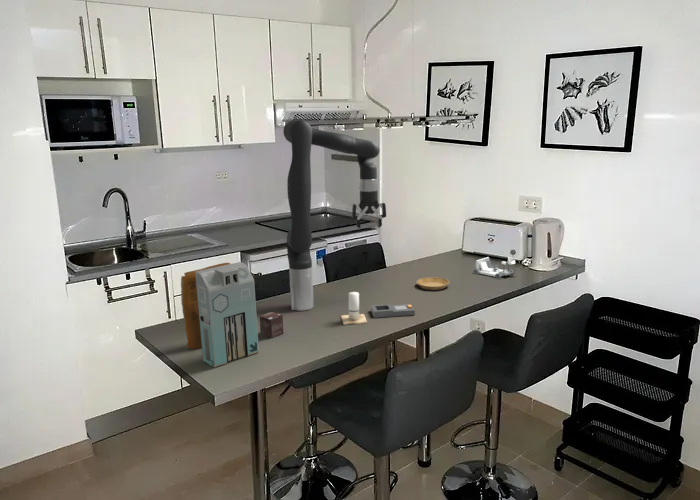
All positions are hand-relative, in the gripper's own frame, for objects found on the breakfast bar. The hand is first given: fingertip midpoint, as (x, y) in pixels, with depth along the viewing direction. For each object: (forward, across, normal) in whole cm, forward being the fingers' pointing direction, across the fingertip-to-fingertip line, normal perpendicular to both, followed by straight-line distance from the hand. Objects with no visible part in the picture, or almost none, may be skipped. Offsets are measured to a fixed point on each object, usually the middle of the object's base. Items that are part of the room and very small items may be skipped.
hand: (369, 227), depth 237 cm
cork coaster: (+30, -11, -29) cm, 43 cm away
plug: (+30, -11, -29) cm, 43 cm away
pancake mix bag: (+30, -63, -43) cm, 82 cm away
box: (+30, -42, -38) cm, 64 cm away
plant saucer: (+31, +30, +8) cm, 44 cm away
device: (+30, -55, -56) cm, 84 cm away
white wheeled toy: (+31, +65, +21) cm, 75 cm away
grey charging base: (+30, +5, -24) cm, 39 cm away
